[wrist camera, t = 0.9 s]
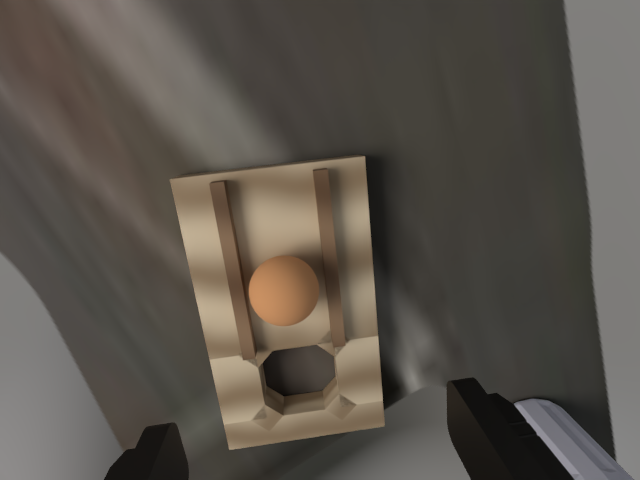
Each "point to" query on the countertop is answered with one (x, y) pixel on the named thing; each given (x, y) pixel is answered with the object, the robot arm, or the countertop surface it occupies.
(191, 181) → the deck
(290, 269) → the ball
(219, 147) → the countertop surface
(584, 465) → the soap bottle
